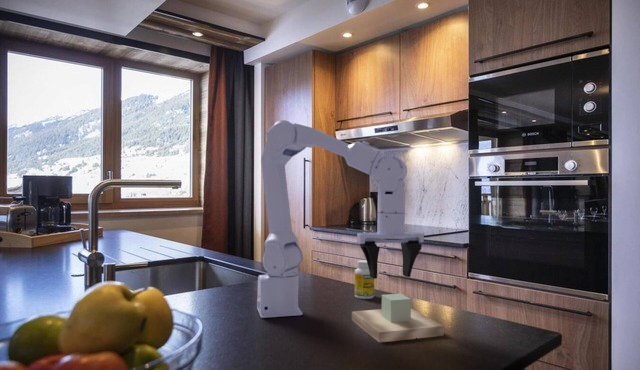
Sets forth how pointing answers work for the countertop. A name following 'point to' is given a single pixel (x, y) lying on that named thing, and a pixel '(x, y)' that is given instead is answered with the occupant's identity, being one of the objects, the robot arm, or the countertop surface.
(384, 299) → the sage cube
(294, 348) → the countertop surface
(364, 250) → the robot arm
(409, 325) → the birch block
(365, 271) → the supplement bottle
